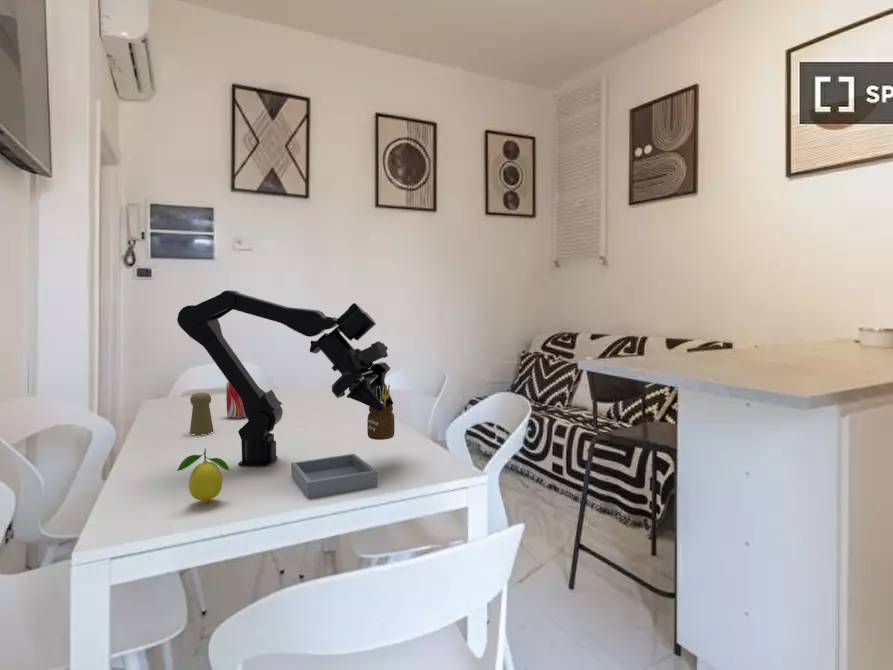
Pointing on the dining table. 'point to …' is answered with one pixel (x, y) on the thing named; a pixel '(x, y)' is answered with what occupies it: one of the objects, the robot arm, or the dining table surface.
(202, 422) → the cork
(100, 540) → the dining table surface
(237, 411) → the soda can
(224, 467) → the lemon
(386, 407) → the utensil holder
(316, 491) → the tray
